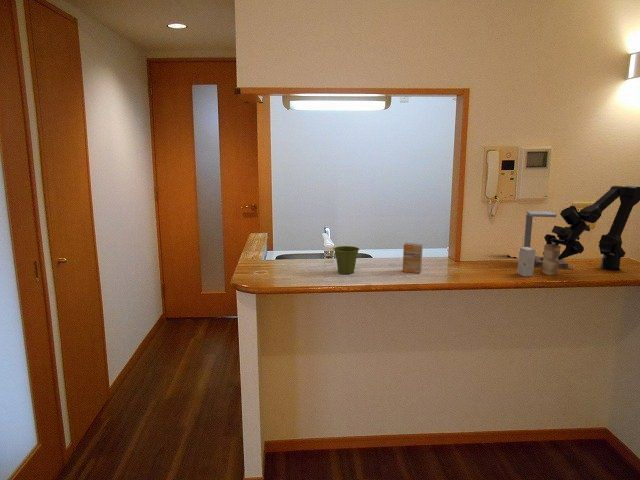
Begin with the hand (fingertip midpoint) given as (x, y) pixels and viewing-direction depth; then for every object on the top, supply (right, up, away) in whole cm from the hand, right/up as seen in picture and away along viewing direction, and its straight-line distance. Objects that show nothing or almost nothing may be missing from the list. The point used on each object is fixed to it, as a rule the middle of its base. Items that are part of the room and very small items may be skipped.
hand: (550, 257), depth 202 cm
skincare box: (-12, -8, 0) cm, 14 cm away
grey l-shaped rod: (+3, -4, +19) cm, 20 cm away
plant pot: (-91, -8, +6) cm, 91 cm away
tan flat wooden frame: (+8, -4, +18) cm, 20 cm away
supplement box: (-61, -7, +6) cm, 61 cm away
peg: (0, -8, +1) cm, 8 cm away
